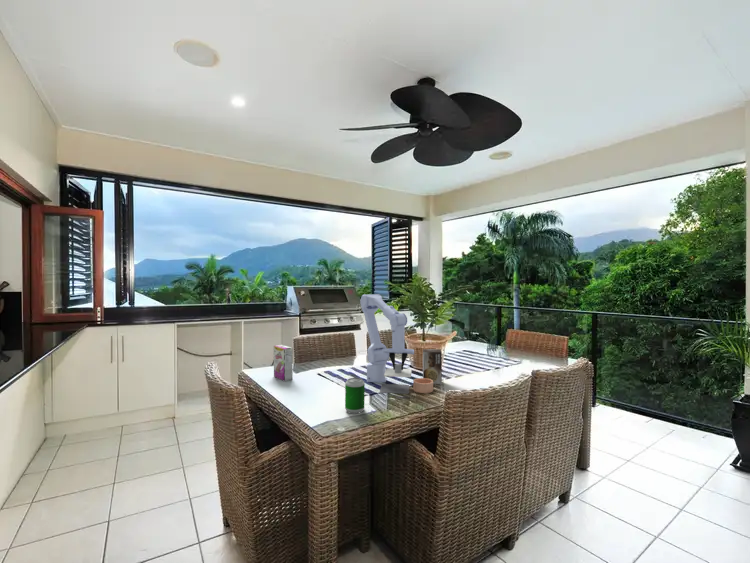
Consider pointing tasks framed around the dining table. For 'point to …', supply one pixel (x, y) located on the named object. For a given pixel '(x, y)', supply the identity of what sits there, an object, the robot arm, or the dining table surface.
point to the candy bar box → (283, 362)
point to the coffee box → (432, 365)
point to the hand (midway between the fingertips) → (398, 369)
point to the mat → (394, 388)
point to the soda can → (354, 395)
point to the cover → (398, 371)
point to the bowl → (423, 385)
